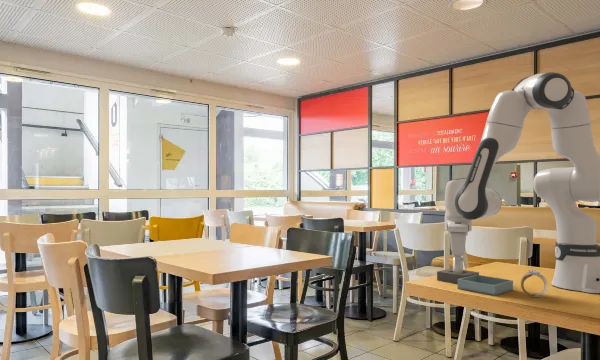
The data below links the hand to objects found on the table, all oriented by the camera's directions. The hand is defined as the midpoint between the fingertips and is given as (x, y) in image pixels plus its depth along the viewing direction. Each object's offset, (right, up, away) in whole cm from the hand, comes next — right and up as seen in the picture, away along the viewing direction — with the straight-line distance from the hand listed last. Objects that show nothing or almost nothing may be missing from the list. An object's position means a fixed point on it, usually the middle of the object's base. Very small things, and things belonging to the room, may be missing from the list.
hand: (457, 265), depth 154 cm
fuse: (0, -5, 0) cm, 5 cm away
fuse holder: (0, -5, 0) cm, 5 cm away
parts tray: (+4, -5, -13) cm, 15 cm away
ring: (+14, -5, -23) cm, 27 cm away
